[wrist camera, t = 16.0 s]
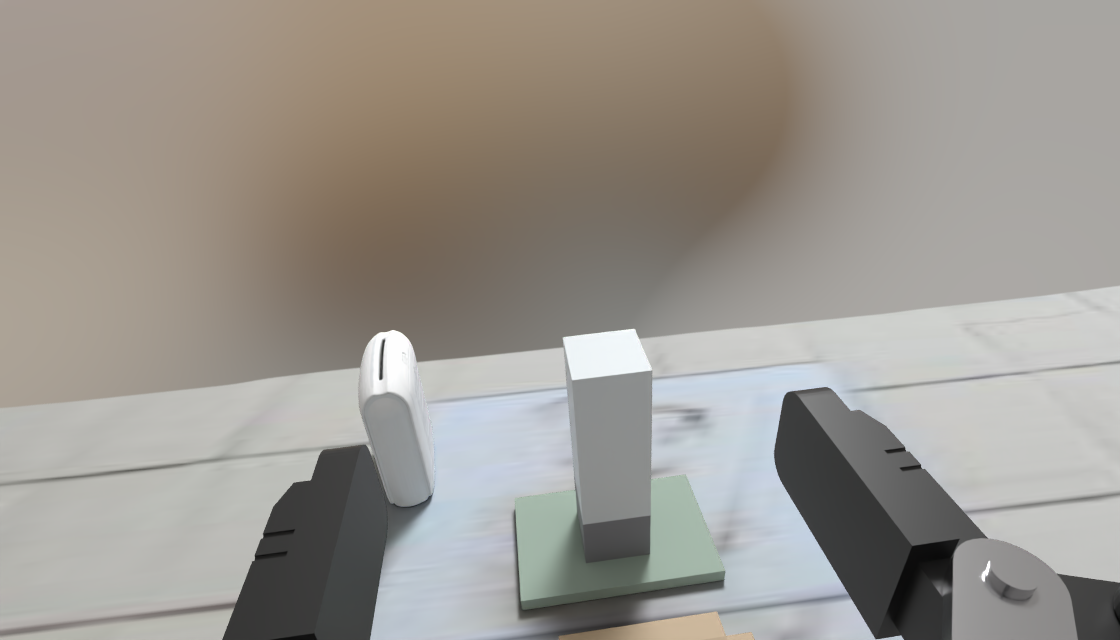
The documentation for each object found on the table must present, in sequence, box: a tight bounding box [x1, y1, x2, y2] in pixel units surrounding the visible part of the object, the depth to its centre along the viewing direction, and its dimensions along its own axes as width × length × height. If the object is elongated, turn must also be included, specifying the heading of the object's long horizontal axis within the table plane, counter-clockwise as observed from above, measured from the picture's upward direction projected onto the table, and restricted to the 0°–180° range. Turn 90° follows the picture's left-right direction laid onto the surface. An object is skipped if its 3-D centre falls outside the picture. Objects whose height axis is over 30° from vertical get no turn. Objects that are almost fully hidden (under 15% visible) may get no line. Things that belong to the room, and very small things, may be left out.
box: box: [563, 329, 652, 563], centre depth 39 cm, size 5×5×16 cm
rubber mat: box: [515, 475, 725, 610], centre depth 43 cm, size 14×9×1 cm, turn 97°
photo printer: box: [359, 330, 435, 507], centre depth 49 cm, size 10×4×12 cm, turn 12°
